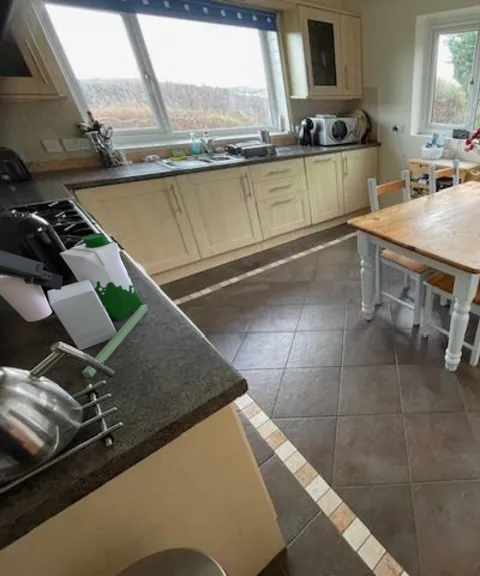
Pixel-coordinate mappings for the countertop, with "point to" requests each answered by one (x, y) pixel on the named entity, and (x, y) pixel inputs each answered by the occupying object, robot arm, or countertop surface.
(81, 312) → the white packaging box
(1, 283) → the smoothie
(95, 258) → the soya milk
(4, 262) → the robot arm
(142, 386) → the countertop surface
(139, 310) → the straightedge
